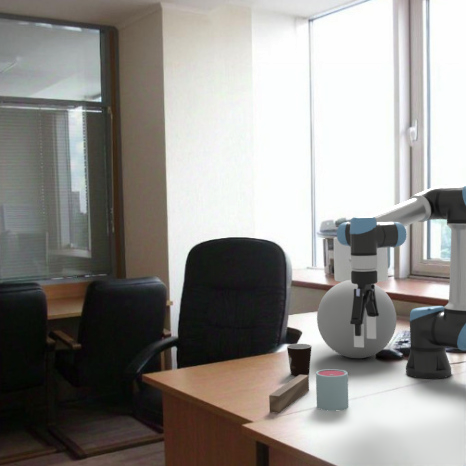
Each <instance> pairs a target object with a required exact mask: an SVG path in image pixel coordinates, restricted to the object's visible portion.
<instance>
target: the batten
mask: <svg viewBox="0 0 466 466" xmlns="http://www.w3.org/2000/svg"><path fill="white" fill-rule="evenodd" d="M309 376H310V374H309V375H298V376H297V377H296V376H294V378H292V379H291V380H290V381H288V382H287V383H285V384H284V385H282V386H281V387H279V388H278V389H276V390H275V391H273V392H272V393H270V394H269V396H268V399H269V400H268V401H269V403H268V404H269V405H268V406H269V413H270V414H271V413H273V414H280V413H282V412H283V411H285V410H286V409H287V408H288V407H290V406H291V405H292V404H294V403H295V402H296V401H297V400H299V399H301V397H303V396H305V394H308V392H310V379H309V378H310V377H309Z"/></svg>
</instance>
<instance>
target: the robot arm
mask: <svg viewBox="0 0 466 466" xmlns="http://www.w3.org/2000/svg"><path fill="white" fill-rule="evenodd" d="M432 220H433V221H435V220H446V225H447V227H448V228H449V229H450V230H451V231H450V232H451V233H450V259H449V260H450V265H449V288H448V289H449V290H448V291H449V292H448V293H449V294H448V295H449V296H448V302H447V304H446V305H444V306H443V305H433V306H422V307H416V308H412V309H411V311H410V312H409V315H410V316H409V335H410V337H409V339H410V352H409V355H408V358H407V362H406V366H405V374H406V375H407V376H410V377H414V378H417V379H430V380H431V379H443V378H448V377H450V376H451V375H452V366H451V362H450V361H449V357H448V354H447V351H446V348H452V349H457V350H458V349H459V350H460V351H466V183H461V184H443V185H438V186H433V187H431V188H428V189H426V190H423V191H420V192H418V193H416V194H414V195H411V196H410V197H409V199H408V200H406V201H403V202H402V203H398V204H396V205H394V206H391V207H389V208H386V209H383V210H381V211H379V212H376V213H373V214H372V215H369V216H353V217H352V218H351V219H350V221H346V222H345V221H344V222H341V223H340V224H339V225H338V226H337V229H336V237H337V239H338V241H339V243H340V244H342V245H345V246H350V247H351V258H350V259H349V261H350V262H351V268H352V269H353V271H352V272H351V282H352V283H353V284H357V285H358V288H357V289H354V299H353V308H352V316H351V321H350V324H354V347H362V348H363V347H364V324H362V323H363V317H364V312H365V308H366V311H367V315H368V316H369V317H368V316H367V317H366V319H367V338H369V339H376V317H375V316H379V313H378V308H377V302H376V296H375V285H377V284H378V282H377V271H376V270H375V269H377V248H387V249H388V248H396V247H401V246H403V245H404V244H405V242H406V240H407V235H408V233H407V229H406V227H407V226H410V225H412V224H414V223H417V222H418V223H425V222H426V221H432ZM374 284H375V285H374Z"/></svg>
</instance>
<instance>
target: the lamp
mask: <svg viewBox="0 0 466 466" xmlns="http://www.w3.org/2000/svg"><path fill="white" fill-rule="evenodd" d="M350 258H351V247H350V246H345V245H342V244H340V243H339V241H338V239H337V236H336V237H333V270H334V272H333V273H334V274H333V275H334V281H335V282H339V283H341V282H344V281H347V280H351V272H352V271H353V269H352V268H351V262H350V261H349V259H350ZM388 263H389V259H388V247H387V248H377V269H375V270H376V271H377V283H380V282H385V281H388V279H389V273H388V272H389V266H388V265H389V264H388Z"/></svg>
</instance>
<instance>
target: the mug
mask: <svg viewBox="0 0 466 466" xmlns="http://www.w3.org/2000/svg"><path fill="white" fill-rule="evenodd" d="M348 374H349V373H348V371H347V370H343V369H333V368H332V369H330V368H327V369H321V370H320V369H319V370H317V371H315V385H316V386H315V388H316V408H317V409H319V410H321V409H322V410H321V411H327V410H328V411H327V412H337V411H336V410H340V411H344V409H345V410H348V408H349V380H348V379H349V376H348Z"/></svg>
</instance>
